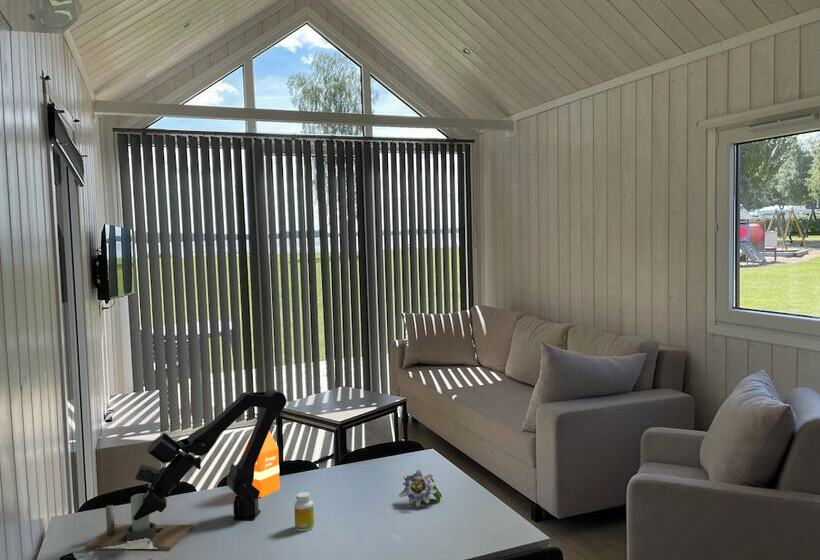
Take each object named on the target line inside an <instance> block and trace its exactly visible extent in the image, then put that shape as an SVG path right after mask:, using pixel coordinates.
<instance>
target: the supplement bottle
mask: <svg viewBox="0 0 820 560" xmlns="http://www.w3.org/2000/svg"><path fill="white" fill-rule="evenodd" d="M295 496H296V498H295V499H296V502H294V505H293V506H294V508H293V509H294V527H295V530H296V531H298V532H307V531H311V530H313V528H314V527H315V519H314V518H315V517H314V516H315V515H314V514H315V511H314V510H315V509H314V502H313V500H312V499H311V493H310V492H307V491H303V492H299V493H296V495H295Z"/></svg>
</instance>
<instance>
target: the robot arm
mask: <svg viewBox="0 0 820 560" xmlns="http://www.w3.org/2000/svg"><path fill="white" fill-rule="evenodd" d="M286 404H287V398H286V395H285V393H282V392H281V391H279V390H276V389H273V388H270V389H267V390H266V391H254V392H253V391H252V392H249V391H244V392H242V393H241V394H240V395H239V396H238V397H237V398H236V399H235V400H234V401H233V402H232V403H231V404H229V405H228V407H226V408H225V409H224V410H223V411H222V412H221V413H219V415H218V416H216V417H215V418H214V419H213V420H212V421H211V422H209V423H208V424H207V425H204V426H202V427H200V428H198V429H197V430H195V431H194V432H192V433H190V435H188V436H187V437H185V438H181V439H180V440H175V439H173V438H172V437H171V436H169V434H168V433H166V432H163V433H162V434H161V435H159V436H158V437H156V438H155V439H153V440H152V441H151V442H150V444H149V446H148V447H147V449H146V452H147V454H149V455H150V456H152V457H153V458H155V459H156V460H157V461H159V462H160V463H161V464H166V463H167V465H166V466H162V467H161V468H160V469H159V468H156V467H154V466H149V465H146V464H143V463H142V464H139V467H138V470H137V472H136V474H135V477H134V479H135V480H137V481H143V482H145V485H144V490H145V491H144V493H146V494H144V495H143V503H142V505H141V506H140V508H139V510H138V511H137V513H136V514H135V516H134V517H133V519H134V520H135V521H137V520H139V519H141V518H143V517H145V516H147V515H149V516H150V515H151V514H153V513H156V512H159V513H163V511H164V510H165V509H166V508H167V504H168V503H167V498H168V497H169V496H170V495H171V492H172V490H174V488H176V486H177V487H178V486H179V485H180V484H181V482H182V480H183V478H184V477H186V476H187V474H188V473H189V472H190V471H191V469H192V468H193V467H195V468H196V469H198V470H201V469H202V466H201V465H202V464H201V462H202V459H201V456H202V457H203V456H205V455H207V454H208V453H209V452H210V451H211V449H212V448H213V447H214V446H215V444H216V442H217V441H218V438H220V436H221V434H223V432H224V431H227V429H228V428H229V427H230V426H231V425H232V424H233V423H234V422H236V421H237V420H238V419H239V418H240V417H241V416H242V415H243V414H244V413H245V412H247V410H249V409H250V408H251V407H252V408H259V413H258V414H259V415H258V418H257V421H256V423H255V425H254V427H253V429H252V432H251V434H250V437H249V439H248V441H249V442H248V441H247V443H248V444H247V443H246V445H247V446H246V445H245V447H246V449H245V448H244V449H245V451H244V450H243V451H244V454H243V453H242V456H241V459H240V460H239V461H238V462H237V464H233V463H232V464H231V465H230V468H229V472H228V473H227V474H226V478H227V479H226V484H227V486H228V488H229V489H230V490H231V491H232V492H233V493H234V494H235V495H236V496H234V501H233V503H232V504H233V517H232V518H233V520H234V521H238V520H239V521H240V520H241V521H243V520H244V521H248V520H249V521H254V520H255V519H256V518H257V517H258V515H260V513H261V511H262V510H261V509H259V498H258V497H259V493H260V491H259V490H258V489H257V488H256V487H255V486H253V485H252V483H253V479H254V467H255V464H256V462H257V459H258V457H259V454H260V452H261V449H262V447H263V445H264V442H265V440H266V437H267V435H268V433H269V431H270V430H271V428H272V425H273V423H274V422H275V420H276V419H277V418H278V417H279V416H280V415H281V414H282V412H283V410H284V408H285V407H286ZM192 454H193V455H192Z"/></svg>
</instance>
